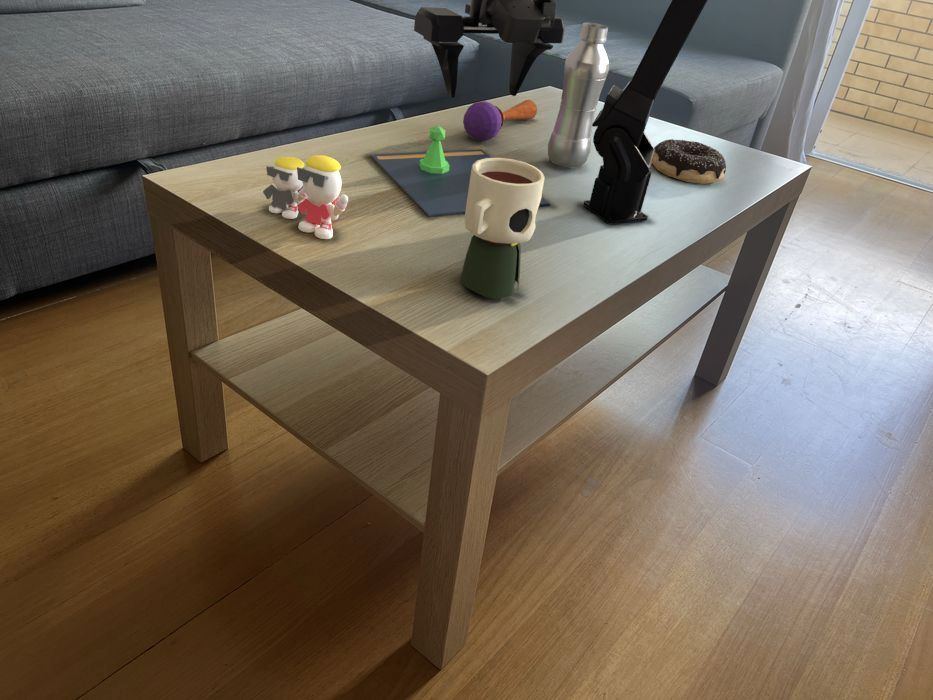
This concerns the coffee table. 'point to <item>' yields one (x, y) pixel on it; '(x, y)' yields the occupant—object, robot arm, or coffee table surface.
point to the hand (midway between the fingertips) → (482, 96)
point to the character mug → (499, 223)
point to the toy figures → (307, 192)
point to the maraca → (494, 118)
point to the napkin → (434, 180)
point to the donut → (689, 161)
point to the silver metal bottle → (579, 98)
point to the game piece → (435, 153)
